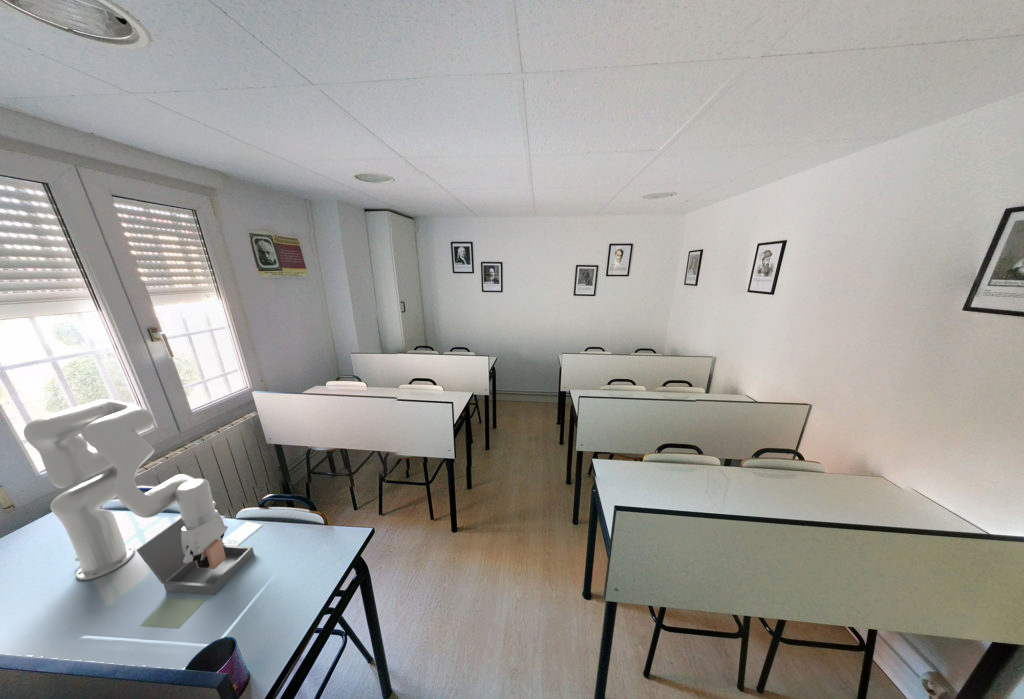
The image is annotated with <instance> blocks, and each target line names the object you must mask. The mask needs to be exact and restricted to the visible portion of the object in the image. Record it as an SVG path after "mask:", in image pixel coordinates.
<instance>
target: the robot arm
mask: <svg viewBox="0 0 1024 699" xmlns="http://www.w3.org/2000/svg"><path fill="white" fill-rule="evenodd" d="M154 424H155V418H154V416H153V414H152V413H151V412H150V411H149V410H147V409H145V408H144V407H142V406H141V407H140V406H138V405H136V404H133V403H132V404H131V403H129V402H123V401H121V400H114V399H107V398H106V399H99V400H94V401H91V402H89V403H86V404H82V405H79V406H75V407H71V408H68V409H64V410H61V411H58V412H55V413H52V414H48V415H45V416H42V417H39V418H37V419H34V420H32V421H31V422H29V423H27V424H26V425H25V427H24V430H23V435H24V438H25V440H26V441H27V442H28V443H29V444H30V445H31V447H33V448H34V449H35V450H36V451H37V452H38V453H39V456H40V458H41V461H42V463H43V466H44V468H45V471H46V474H47V477H48V479H49V481H50V483H51V484H52V486H54V487H56V488H58V489H67V490H65V491H63V492H62V493H60V494H59V495H57V496H56V497H55V498H54V499H53V500H51V503H50V505H49V506H50V510H51V512H52V513H53V514H54V515H55V517H56V518H57V519H58V520H59V521H60V522H61V523H62V526H63V527H64V529H65V530H66V534H67V536H68V538H69V540H70V542H71V544H72V547H73V550H74V551H75V555H76V558H75V562H79V564H80V567H79V568H78V569H77V570H76V573H75V576H76V578H77V579H78V580H79V581H87V580H93V579H96V578H99V577H103V576H105V575H107V574H109V573H111V572H113V571H114V570H117V569H119V568H121V567H122V566H124V565H125V564H126V563H127V562H128V561H130V559H131V558H132V557H133V556H134V554H135V550H136V549H135V548H134V546H132V545H126V544H125V541H124V538H123V536H122V533H121V531H120V527H119V525H118V522H117V519H116V517H115V515H114V513H113V512H112V511H110V510H107V509H102V508H101V507H102V506H104V505H105V504H107V503H109V502H110V501H113V500H114V499H115V498H117V499H118V501H119V502H120V503H121V504H122V505H123V506H125V507H126V508H127V509H128V510H129V511H130V512H132V513H133V514H134V515H135V516H137V517H140V518H144V519H145V518H147V519H148V518H153V517H155V516H157V515H159V514H161V513H162V512H164V511H166V510H167V509H169V508H170V507H171V506H173V505H175V504H176V503H177V506H178V510H179V512H180V518H181V517H182V521H183V524H184V527H183V528H182V529H181V544H182V550H183V553H184V555H185V557H184V560H183V563H189V562H192V561H197V564H198V567H199V568H208V567H209V562H208V558H207V557H205V550H206V549H207V548H208V547H209V546H210V545H211V544H212V543H214V542H215V541H216V540H224V539H223V538H224V536H225V533H226V532H227V530H228V528H229V527H228V526H227V525H225V523H224V521H223V519H222V516H221V514H220V513H219V511H218V510H217V509H216V508H215V507H216V506H217V502H216V501H214V498H213V495H212V490H211V486H210V483H209V481H208V480H207V479H205V478H195V477H193V476H192V475H189V474H186V473H178V474H176V475H174V476H172V477H170V478H168V479H166V480H165V481H163V482H161V483H160V484H157V485H155V487H153V488H151V489H149V490H148V491H145V492H143V491H142V490H140V489H139V487H138V486H137V484H136V482H135V478H136V477H135V476H136V473H137V472H138V469H139V468H140V467H141V466H142V465H143V464H144V463H145V462H147V461H148V459H149V458H151V456H152V455H153V454H154V453H155V448H154V447H153V446H152V445H151V444H150V443H149V442H148V441H147V440H145V438H143V437H142V436H141V434H139V433H141V432H143V431H146V430H148V429H150V428H151V427H153V425H154ZM88 445H90V446H91V447H89V446H88ZM222 542H223V541H222ZM192 554H193V556H192ZM199 554H200V555H199Z"/></svg>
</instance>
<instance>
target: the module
mask: <svg viewBox="0 0 1024 699" xmlns="http://www.w3.org/2000/svg"><path fill="white" fill-rule="evenodd" d="M222 540H223V539H222ZM222 540H216V541H215V542H214V543H212V544H211V545H210V546H209V547H208V548H207V549H206V550H205V557H207V558H208V562H209V567H208V568H205V569H216V568H217V567H218V566H219V565H220V564H221V563H222V562H223V561H224V560H225V559H226V556H225V552H224V548H223V544H222ZM199 555H200V554H199ZM196 564H197V561H196ZM197 568H199V567H198V564H197Z"/></svg>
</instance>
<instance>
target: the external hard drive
mask: <svg viewBox="0 0 1024 699" xmlns="http://www.w3.org/2000/svg"><path fill="white" fill-rule="evenodd" d="M262 527H264V525H263V524H261V523H256V522H251V521H245V522H244V523H243V524H242V525H241V526H239V527H237V529H235V530H234V531H233V532H231V533H230V534H228V536H226V537H225V538H224V539H222V541H223V543H225V544H224V545H231V546H241V544H243V543H244V542H245V541H246V540H247V539H249V538H250V537H251V536H252V535H253V534H255V533H256V532H257V531H259V530H260V529H261V528H262Z"/></svg>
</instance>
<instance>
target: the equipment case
mask: <svg viewBox="0 0 1024 699" xmlns="http://www.w3.org/2000/svg"><path fill="white" fill-rule="evenodd" d="M183 527H184V524H183V521H182V517H181V516H180V518H178V519H176V520H175V521H174V522H173V523H172V524H170V525H169V526H168V527H166V528H164V529H163V530H162V531H161V532H159V533H158V534H157V535H155V536H153V537H152V538H151V539H149V540H148V541H147V542H145V543H144V544H142V545H141V546H140V547H138V548H137V549H135V550H136V553H138V554H139V556H140V557H141V558H142V560H143V561H144V562H145V564H146V565H147V566H148V567H149V569H150V570H151V571H152V573H153V574H154V575H155V576H156V578H157V580H159V582H160V583H161V584H162V585H163V586H164V587H163V588H164V591H165V592H167V593H180V594H181V593H182V594H196V595H210V596H211V595H212V596H216V595H217V594H218V593H219V592H220V591H221V590H222V589H223V588H224V587H225V586H226V585H227V583H229V581H230V580H231V579H233V577H234V576H235V575H236V574H237V573H238V572H239V571H240V570H241V569H242V568H243V567H244V566H245V564H246V563H247V562H248V561H249V560H251V558H252V557H253V556H255V552H254V548H253V547H254V546H247V545H246V546H243V545H239V546H231V545H224V544H225V543H223V542H222V544H223V548H224V552H225V556H226V559H225V560H224V561H223V562H222V563H221V564H220V565H219V566H218V567H217V568H216V569H205V568H197V564H196V561H192V562H189V563H183V560H184V557H185V555H184V553H183V550H182V544H181V529H182V528H183ZM192 556H193V554H192Z"/></svg>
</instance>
